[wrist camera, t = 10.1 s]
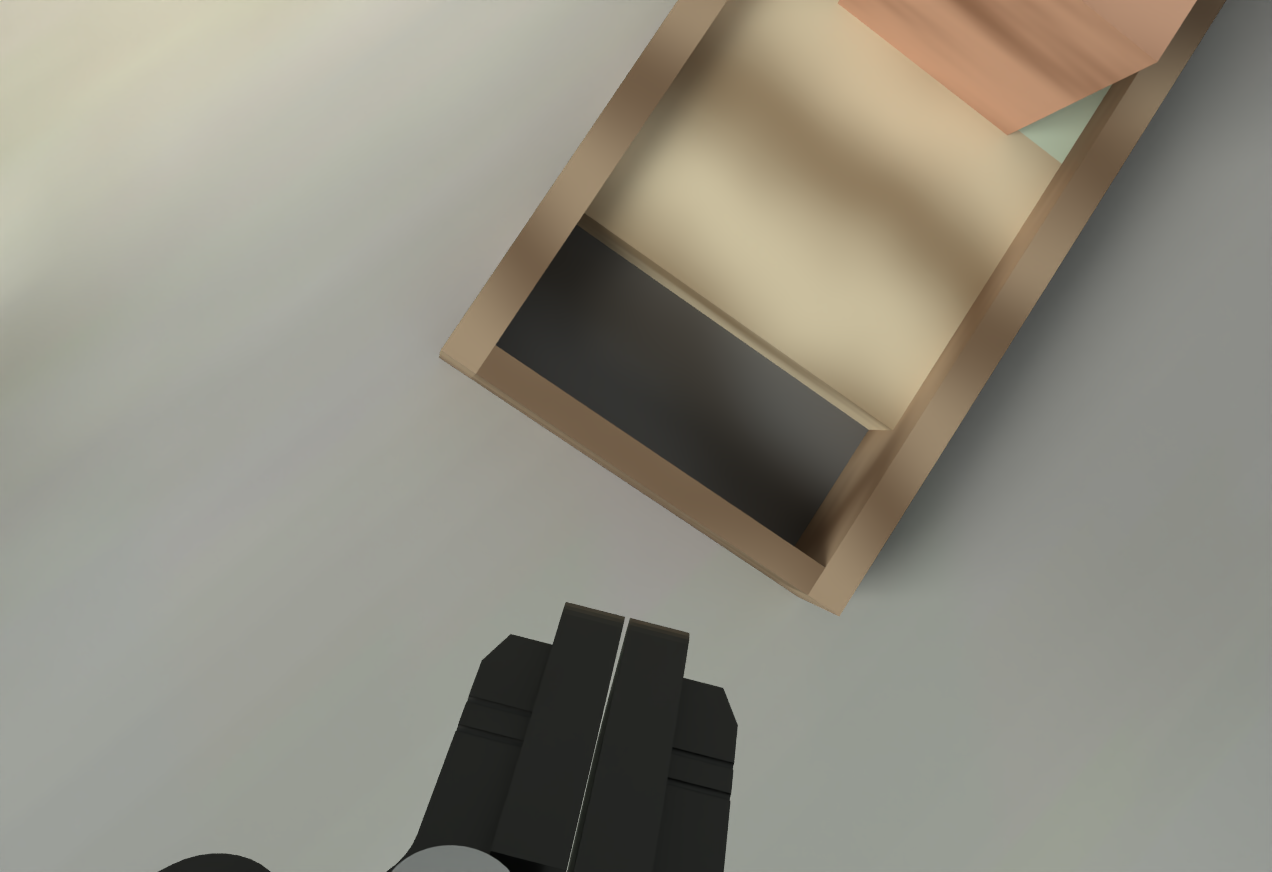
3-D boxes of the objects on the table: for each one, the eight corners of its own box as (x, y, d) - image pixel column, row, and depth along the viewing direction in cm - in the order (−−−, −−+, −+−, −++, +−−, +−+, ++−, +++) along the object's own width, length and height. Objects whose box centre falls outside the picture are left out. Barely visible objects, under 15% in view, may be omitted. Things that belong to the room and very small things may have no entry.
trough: (798, 596, 40) (839, 616, 36) (438, 357, 38) (440, 350, 34) (1285, -173, 43) (1372, -233, 39) (977, -438, 41) (1036, -530, 37)
